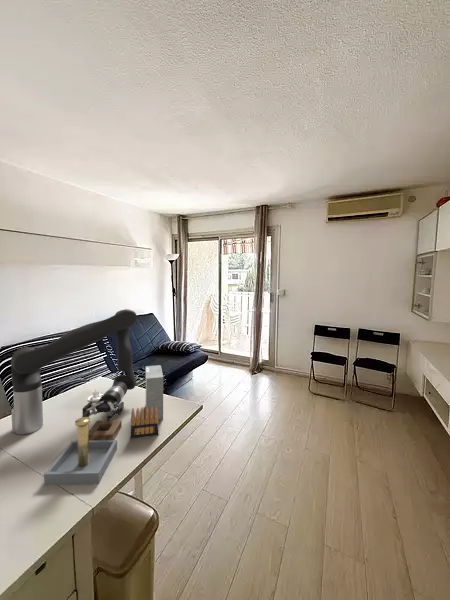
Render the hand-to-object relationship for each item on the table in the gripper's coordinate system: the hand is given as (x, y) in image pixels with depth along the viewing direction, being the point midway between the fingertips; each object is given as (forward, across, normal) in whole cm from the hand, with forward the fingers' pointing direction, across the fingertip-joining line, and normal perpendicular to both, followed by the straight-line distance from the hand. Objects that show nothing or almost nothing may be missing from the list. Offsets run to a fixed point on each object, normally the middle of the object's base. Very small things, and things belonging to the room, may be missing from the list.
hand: (95, 418), depth 95 cm
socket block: (-8, 0, +11) cm, 13 cm away
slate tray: (+10, 0, +11) cm, 15 cm away
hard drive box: (-25, +16, +11) cm, 31 cm away
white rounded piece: (-37, -19, +12) cm, 43 cm away
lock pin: (+10, 0, +10) cm, 14 cm away
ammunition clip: (-7, +16, +11) cm, 21 cm away
